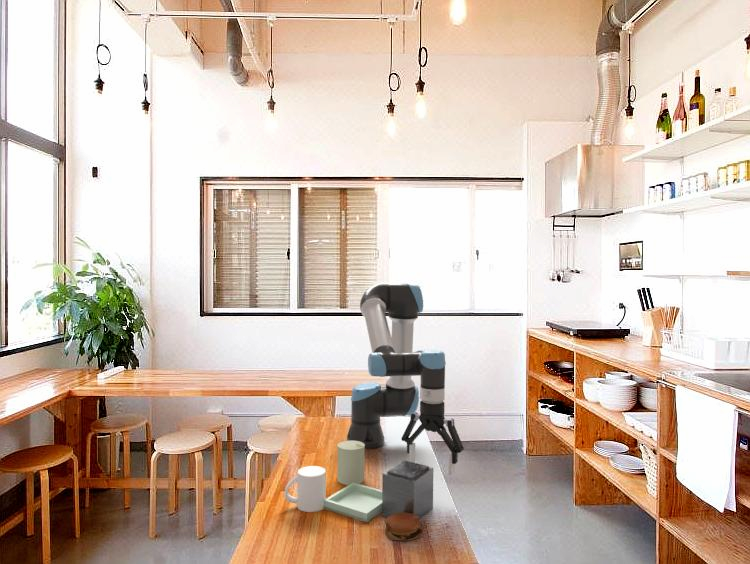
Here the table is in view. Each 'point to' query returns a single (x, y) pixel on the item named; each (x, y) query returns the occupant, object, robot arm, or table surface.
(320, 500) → the mug
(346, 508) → the tray
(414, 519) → the burger
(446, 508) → the table surface
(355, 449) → the can
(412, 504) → the unit
